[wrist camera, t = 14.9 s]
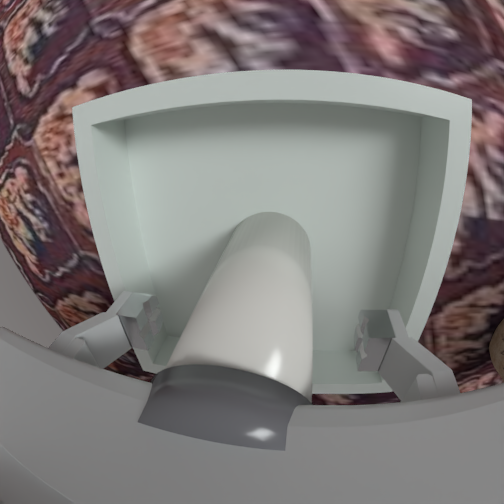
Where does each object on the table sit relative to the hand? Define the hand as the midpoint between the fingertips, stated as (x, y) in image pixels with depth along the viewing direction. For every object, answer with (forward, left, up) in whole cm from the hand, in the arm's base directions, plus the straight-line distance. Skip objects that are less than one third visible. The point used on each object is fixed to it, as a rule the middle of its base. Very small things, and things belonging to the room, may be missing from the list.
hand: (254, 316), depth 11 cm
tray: (0, 0, -7) cm, 7 cm away
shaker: (0, 0, -6) cm, 6 cm away
